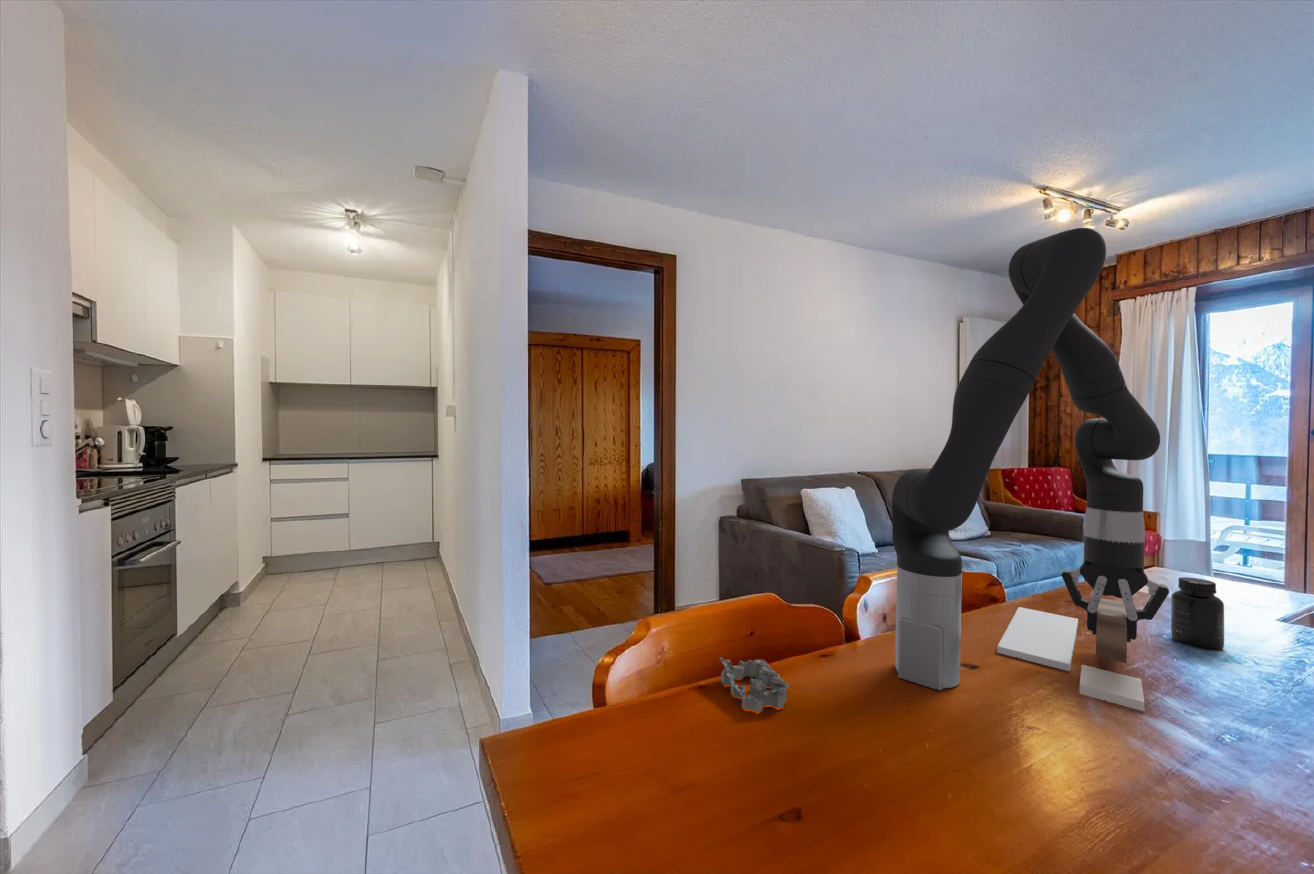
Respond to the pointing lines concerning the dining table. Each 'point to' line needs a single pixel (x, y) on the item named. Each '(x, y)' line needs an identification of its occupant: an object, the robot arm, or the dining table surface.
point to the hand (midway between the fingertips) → (1111, 636)
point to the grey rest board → (1040, 638)
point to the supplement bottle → (1197, 614)
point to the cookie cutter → (755, 684)
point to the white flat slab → (1112, 687)
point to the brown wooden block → (1111, 630)
